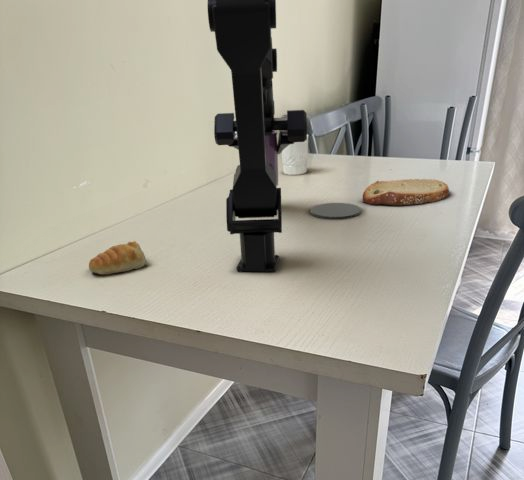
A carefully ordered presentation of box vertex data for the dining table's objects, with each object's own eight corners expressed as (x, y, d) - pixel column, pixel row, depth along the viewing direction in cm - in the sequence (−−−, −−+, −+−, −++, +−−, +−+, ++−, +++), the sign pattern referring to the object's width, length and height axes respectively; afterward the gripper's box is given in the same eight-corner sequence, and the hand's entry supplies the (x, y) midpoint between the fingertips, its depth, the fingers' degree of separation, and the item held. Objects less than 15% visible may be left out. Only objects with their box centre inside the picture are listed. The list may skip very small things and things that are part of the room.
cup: (261, 190, 110) (258, 135, 105) (243, 185, 115) (239, 132, 109) (284, 184, 114) (283, 131, 108) (266, 180, 118) (264, 129, 113)
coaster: (361, 219, 107) (361, 216, 106) (308, 219, 108) (308, 216, 108) (360, 204, 116) (360, 202, 116) (312, 205, 118) (312, 202, 117)
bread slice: (451, 190, 123) (454, 174, 121) (438, 210, 109) (440, 193, 108) (378, 185, 130) (379, 170, 128) (357, 204, 117) (358, 187, 115)
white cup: (276, 172, 150) (275, 135, 145) (300, 168, 152) (300, 132, 147) (289, 176, 144) (288, 138, 138) (313, 173, 146) (313, 135, 141)
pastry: (99, 280, 84) (94, 258, 82) (83, 270, 89) (78, 249, 87) (150, 265, 89) (146, 244, 87) (133, 256, 94) (129, 236, 92)
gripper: (306, 64, 98) (304, 119, 114) (210, 68, 99) (221, 123, 115) (307, 113, 96) (305, 163, 111) (209, 117, 97) (220, 166, 112)
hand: (262, 152), depth 112 cm, fingers closed on cup, 7 cm apart
